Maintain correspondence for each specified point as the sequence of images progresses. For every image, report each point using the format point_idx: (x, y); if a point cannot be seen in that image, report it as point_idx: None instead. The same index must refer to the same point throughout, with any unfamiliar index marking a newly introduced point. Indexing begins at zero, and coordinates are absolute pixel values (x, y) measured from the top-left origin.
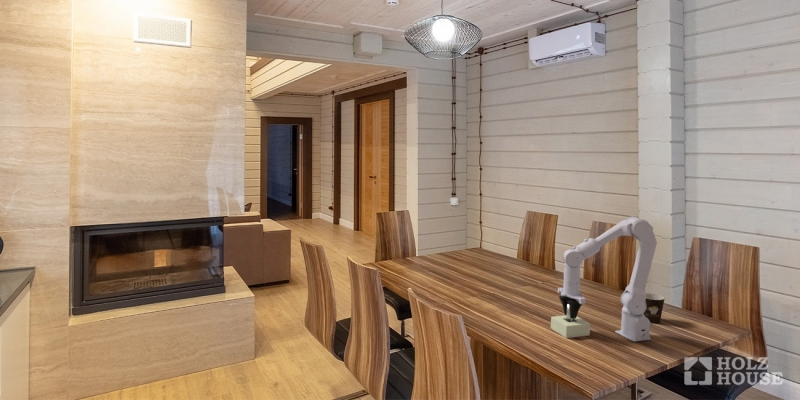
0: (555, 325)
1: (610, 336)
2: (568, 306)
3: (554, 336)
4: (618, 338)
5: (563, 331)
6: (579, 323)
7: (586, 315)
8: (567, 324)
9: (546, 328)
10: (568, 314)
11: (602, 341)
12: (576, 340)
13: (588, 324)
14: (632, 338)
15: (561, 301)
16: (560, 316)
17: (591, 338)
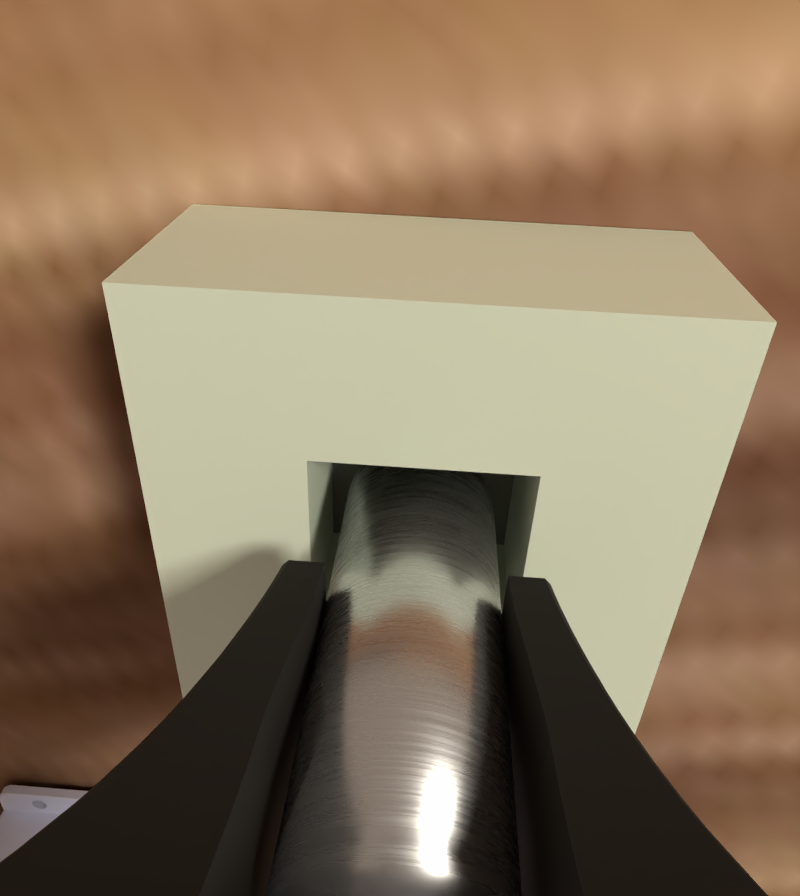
0: (547, 258)
1: (166, 716)
2: (358, 801)
3: (308, 22)
4: (106, 739)
5: (260, 236)
6: (215, 589)
7: (770, 860)
8: (199, 365)
9: (723, 135)
10: (373, 603)
11: (31, 577)
12: (79, 303)
13: (182, 676)
14: (45, 813)
15: (710, 878)
16: (669, 518)
17: (134, 529)
